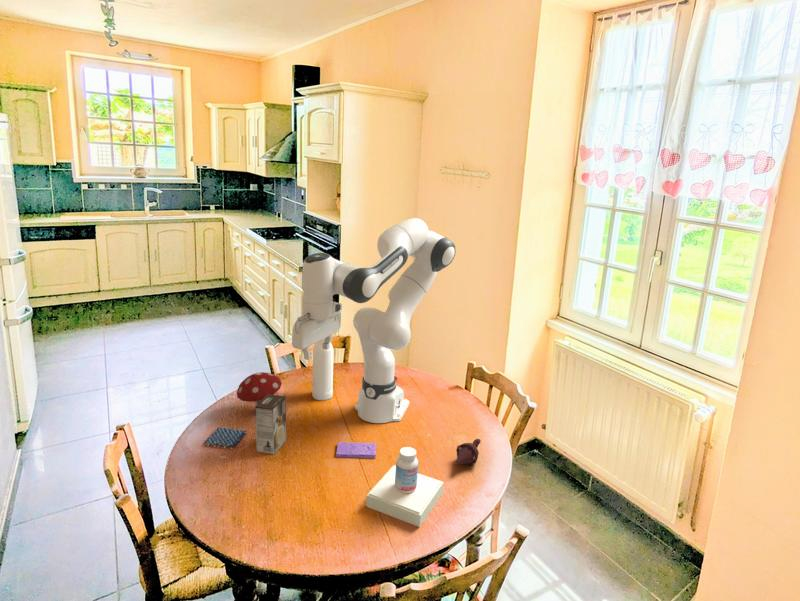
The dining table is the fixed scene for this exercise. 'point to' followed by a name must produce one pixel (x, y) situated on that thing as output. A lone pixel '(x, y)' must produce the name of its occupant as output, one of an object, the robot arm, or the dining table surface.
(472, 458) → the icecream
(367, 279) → the robot arm
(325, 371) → the bottle
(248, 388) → the decorative mushroom
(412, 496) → the base block
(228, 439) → the woven mat
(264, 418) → the coffee box
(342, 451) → the sponges
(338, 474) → the dining table surface
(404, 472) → the pill bottle
